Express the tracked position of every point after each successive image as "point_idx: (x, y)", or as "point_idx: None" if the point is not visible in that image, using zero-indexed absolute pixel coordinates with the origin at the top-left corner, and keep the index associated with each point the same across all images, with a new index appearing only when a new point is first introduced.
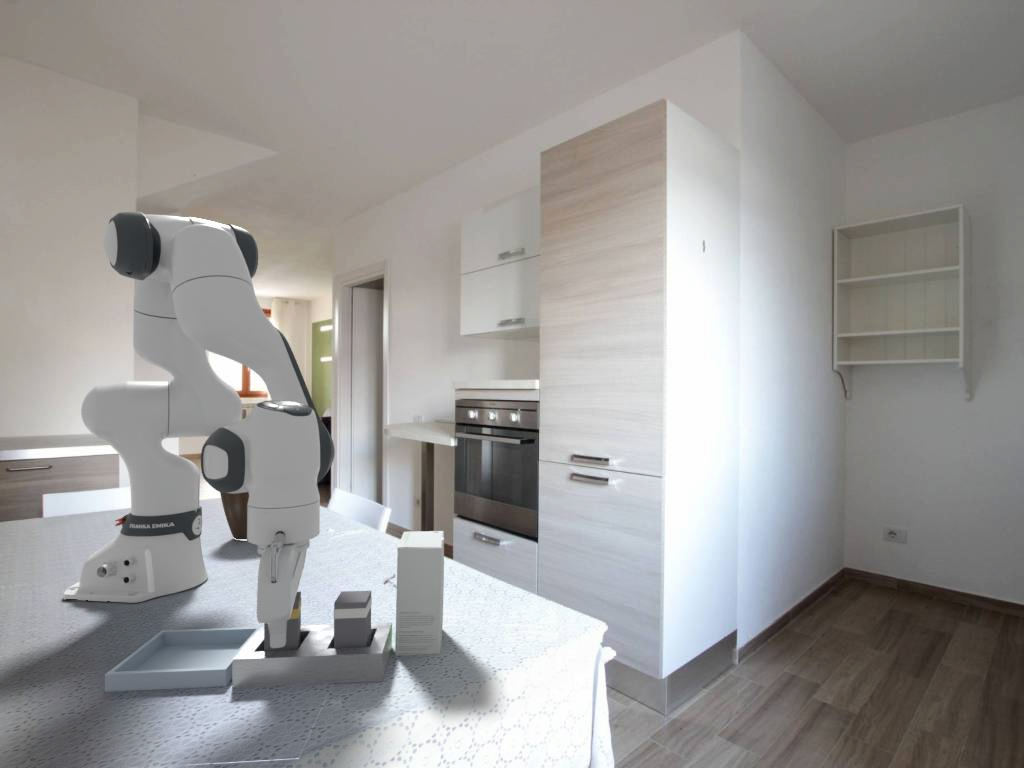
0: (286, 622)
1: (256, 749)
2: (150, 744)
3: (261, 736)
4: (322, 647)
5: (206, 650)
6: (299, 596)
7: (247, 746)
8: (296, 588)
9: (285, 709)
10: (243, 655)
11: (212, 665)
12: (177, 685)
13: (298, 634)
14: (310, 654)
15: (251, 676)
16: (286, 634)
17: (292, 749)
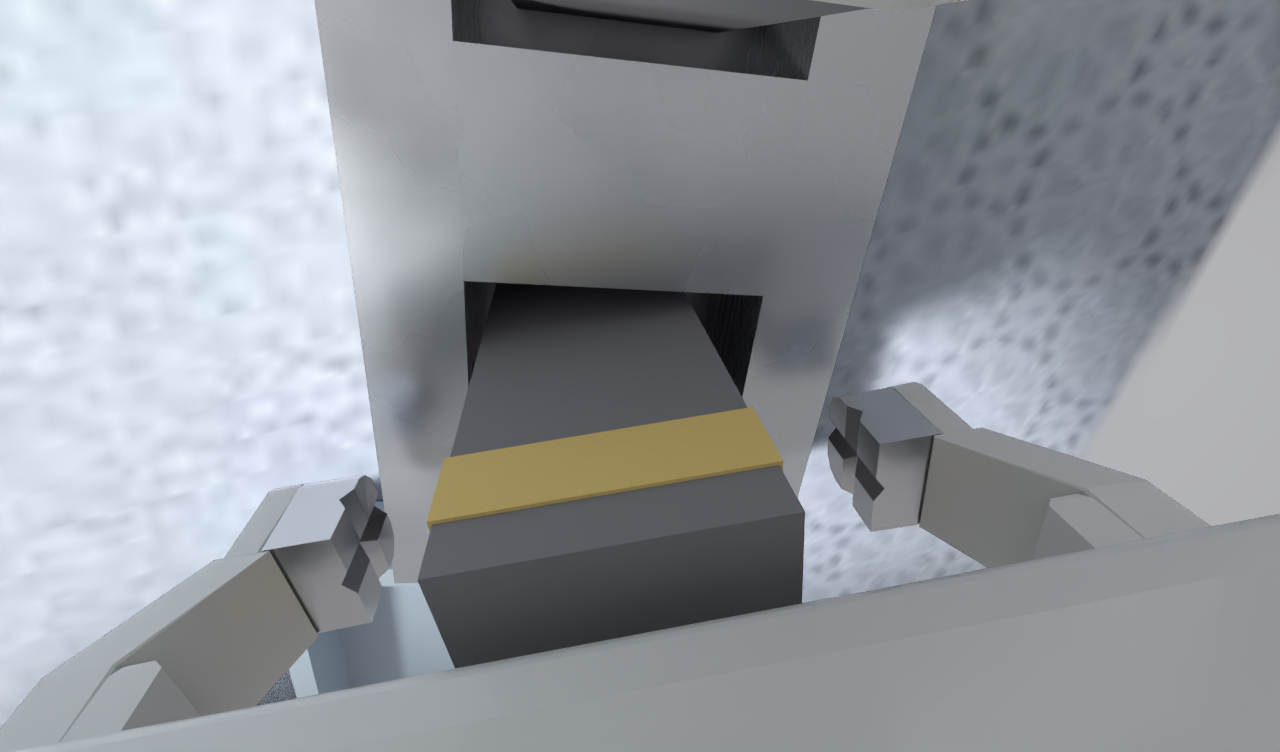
0: (1107, 473)
1: (1148, 273)
2: (953, 566)
3: (1079, 278)
4: (773, 123)
5: (407, 670)
6: (600, 550)
7: (1112, 309)
8: (1010, 700)
9: (934, 235)
10: None
11: None
12: None
13: (663, 342)
14: (855, 194)
15: None
16: (902, 415)
17: (1231, 134)
